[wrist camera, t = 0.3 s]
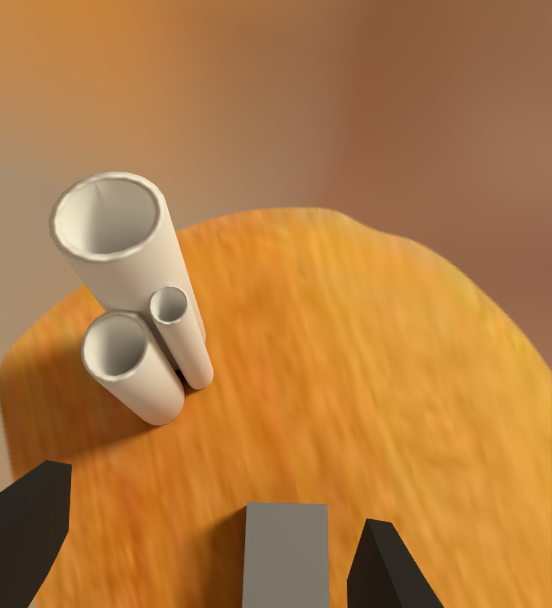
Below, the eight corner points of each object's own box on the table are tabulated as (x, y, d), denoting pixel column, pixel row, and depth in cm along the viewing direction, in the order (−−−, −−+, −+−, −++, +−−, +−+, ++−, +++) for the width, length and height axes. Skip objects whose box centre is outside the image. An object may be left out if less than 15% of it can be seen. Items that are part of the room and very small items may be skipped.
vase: (135, 312, 46) (51, 176, 28) (208, 305, 46) (173, 166, 28) (135, 428, 41) (33, 355, 23) (216, 419, 42) (180, 340, 24)
